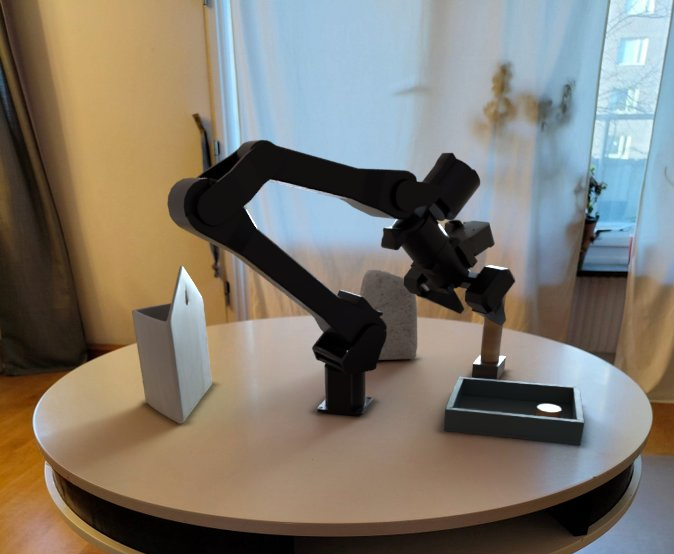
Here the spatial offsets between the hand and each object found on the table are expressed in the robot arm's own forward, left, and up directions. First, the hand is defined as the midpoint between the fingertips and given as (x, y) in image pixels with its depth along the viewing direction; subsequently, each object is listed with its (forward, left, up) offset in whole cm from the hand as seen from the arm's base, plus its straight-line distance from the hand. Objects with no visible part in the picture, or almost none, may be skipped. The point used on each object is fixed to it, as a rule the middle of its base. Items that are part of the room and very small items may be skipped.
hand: (481, 317), depth 94 cm
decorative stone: (+7, +17, -10) cm, 20 cm away
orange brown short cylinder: (-18, -11, -9) cm, 23 cm away
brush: (+2, -2, -10) cm, 10 cm away
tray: (-16, -6, -10) cm, 20 cm away
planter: (-23, +42, -10) cm, 49 cm away
